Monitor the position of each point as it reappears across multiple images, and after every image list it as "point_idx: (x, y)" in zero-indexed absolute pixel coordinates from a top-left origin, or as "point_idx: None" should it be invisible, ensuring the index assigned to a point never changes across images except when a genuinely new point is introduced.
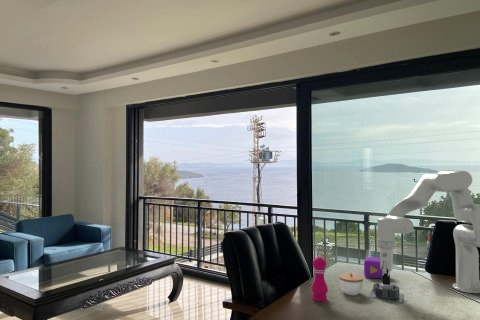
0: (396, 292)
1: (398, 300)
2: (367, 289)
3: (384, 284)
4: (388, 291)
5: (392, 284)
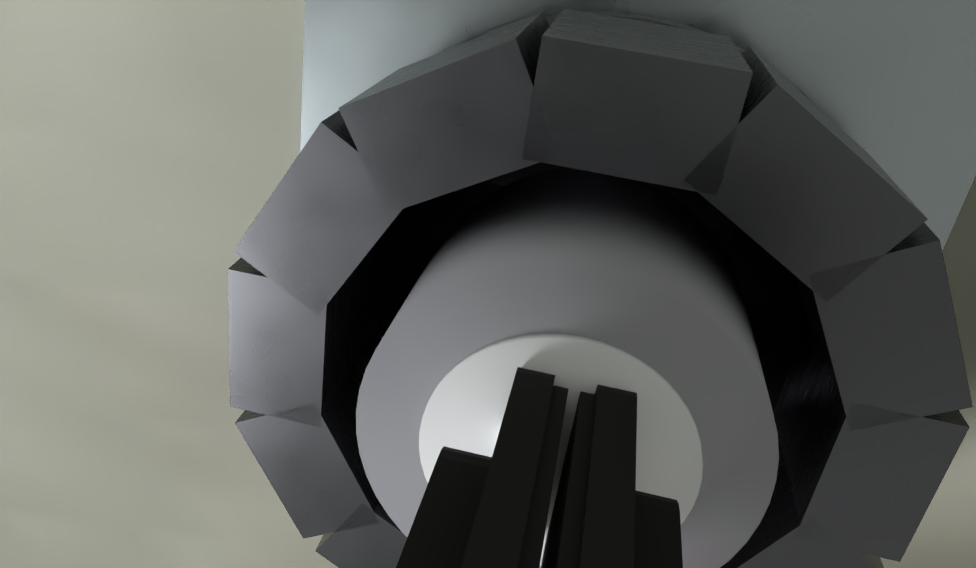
0: (857, 150)
1: (902, 60)
2: (315, 555)
3: None
4: (935, 395)
5: (483, 278)
